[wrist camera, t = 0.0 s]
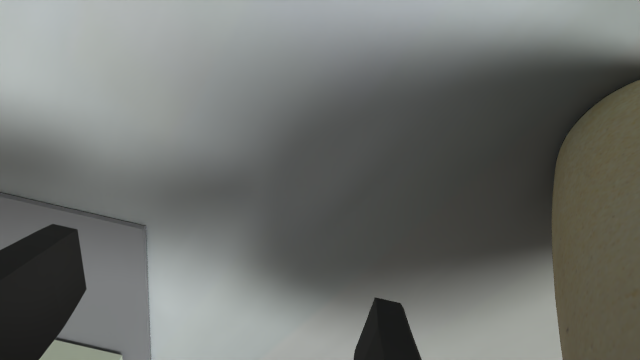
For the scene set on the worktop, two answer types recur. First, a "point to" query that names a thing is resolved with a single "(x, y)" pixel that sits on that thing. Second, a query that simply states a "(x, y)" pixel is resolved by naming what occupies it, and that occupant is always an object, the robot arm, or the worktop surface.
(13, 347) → the robot arm
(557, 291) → the plant pot
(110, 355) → the sage fence panel
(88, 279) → the card
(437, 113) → the worktop surface
